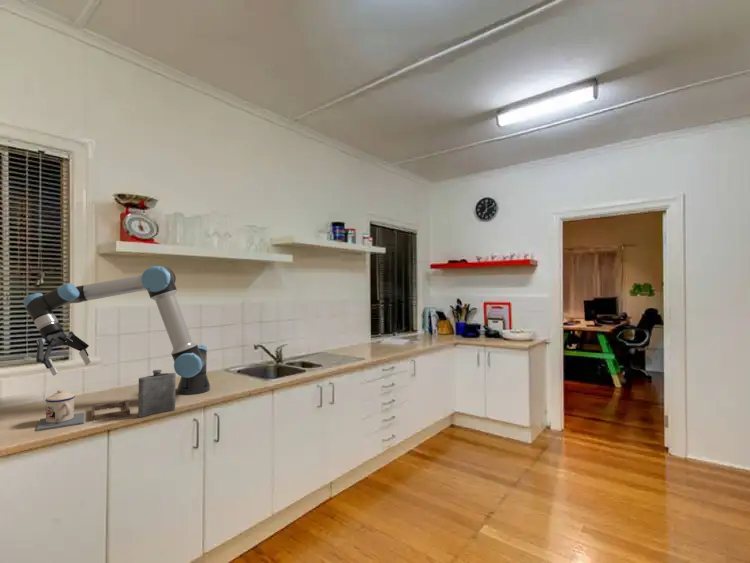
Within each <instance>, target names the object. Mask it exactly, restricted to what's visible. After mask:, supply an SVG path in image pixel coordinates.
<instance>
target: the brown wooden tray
mask: <svg viewBox="0 0 750 563" xmlns="http://www.w3.org/2000/svg"><path fill="white" fill-rule="evenodd" d="M115 407H116V408H123V407H124V409H125V410H119V411H111V412H106V413H99V414H96V413H95V412H96V411H101V410H100V409H102V410H108V409H107V408H109V409H115ZM127 415H128V416H131V410H130V405H129V402H128V400H124V401H117V402H116V401H115V402H110V403H102V404H94V405H91V422H94V420H95V421H99V420H100V419H102V420H108V419H114V418H113V417H115V418H121V417H125V416H126V417H128V416H127ZM120 416H121V417H120ZM107 418H108V419H107Z"/></svg>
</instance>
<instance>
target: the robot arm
mask: <svg viewBox="0 0 750 563" xmlns="http://www.w3.org/2000/svg"><path fill="white" fill-rule="evenodd" d="M176 279H177V278H176V273H175V272H174V271H173V270H172V269H171V268H168V267H166V266H161V265H154V266H150V267H148V268H146V269H144V271H143V273H142V274H139V275H135V276H134V275H133V276H128V277H124V278H118V279H112V280H107V281H101V282H94V283H89V284H85V285H84V284H83V285H77V286H75V285H74V284H72V283H70V282H68V283H65V284H62V285H60V286H58V287H57V288H54V289H53V290H50V291H49V292H47V293H45V294H43V293H42V292H36V293H32V294H28V295H27V296H25V297H24V299H23V301H22V303H23V306H24V307H25V310H26V312H28V314H29V316H30V318H31V320H32V322H33V323H34V324H35V326H36V329H37V330H38V332H39V334H40V336H41V337H42V338H38V339H37V340H36V342H35V343H36V346H37V349H36V357H35V358H36V359H35V360H36V363H41V364H43V365H44V366H45V368H46V369H47V370H48V369H49V371H50V372H51V375H52V376H53V377H54V376H56V375H57V374H58V373H59V371H58V368H56V365H55V364H54V362H53V360H52V359H51V358H49V357H50V356H51V353H52V350H53V348H56V347H58V346H62V345H63V346H67V347H70V348H72V349H74V350H76V351H78V352H79V356H80V357H81V359H82V361H83V363H84V364H85V366H88V365H89V364H90V363H91V360H90V358H89V352H87V349H88V348H89V347H90V345H89V344H88V343H86V342H85V341H84V340H82V339H81V338H80V337H78V336H76V335H75V333H74V331H71V330H70V331H68V333H65V332H64V329H63V327H62V326H61V323H59V319H58V318H57V316H56V315H55V313H54V312H53V311H54V310H57V309H58V308H60V307H63V306H64V305H69V304H79V303H82V302H88V301H92V300H93V301H94V300H98V299H104V298H109V297H114V296H115V297H116V296H121V295H126V294H131V293H132V294H133V293H137V292H143V291H147V294H148V295H149V298H150V299H151V300H153V301H155V304H156V306H157V309H158V311H159V314H160V317H161V320H162V322H163V325H164V327H165V330H166V332H167V335H168V339H169V341H170V344H171V345H172V351H171V353H170V354H171V357H172V360H173V362H174V363H173V369H174V373H176V375H178V376H180V379H179V382H178V385H177V388H176V389H177V392H176V393H177V394H181V395H196V394H197V395H198V394H202V393H206V392H208V391H210V390H211V385H210V380H209V378H208V375H207V364H208V362H207V361H208V360H207V356H208V355H207V353H208V349H207V346H206V345H205V344H197V343H196V342H194V341H193V340H192V337H191V335H190V334H191V333H190V332H189V329H188V326H187V323H186V321H185V318H184V315H183V313H182V310H181V307H180V305H179V302H178V299H177V296H176V293H177V291H178V289H177V287H176V284H175V283H176V281H177V280H176ZM45 344H47V347H46V350H45V352H44V347H45V346H44V345H45Z"/></svg>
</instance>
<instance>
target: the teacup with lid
mask: <svg viewBox="0 0 750 563" xmlns="http://www.w3.org/2000/svg"><path fill="white" fill-rule="evenodd" d="M45 402H46V403H45V418H46V422H47V423H60V422H65V421H68V420H71V419H72V418H73V417H74V414H75V411H74V410H75V394H74V393H70V392H67V391H64V389H58V390H57V391H56V392H55V393H53V394H52V395H49V396H47V397H46V398H45Z"/></svg>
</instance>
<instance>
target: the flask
mask: <svg viewBox="0 0 750 563" xmlns="http://www.w3.org/2000/svg"><path fill="white" fill-rule="evenodd" d="M152 373H153V375H148V376H142V377H138V398H137V400H138V402H137V403H138V407H137V408H138V410H137V411H138V412H137V413H138V414H137V415H138V418H139V419H141V418H142V419H143V418H146V417H150V416H153V415H158V414H162V413H167V412H174V411H176V375H177V373H176V372H165V373H164V372H163V373H162V369H153V370H152Z"/></svg>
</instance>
